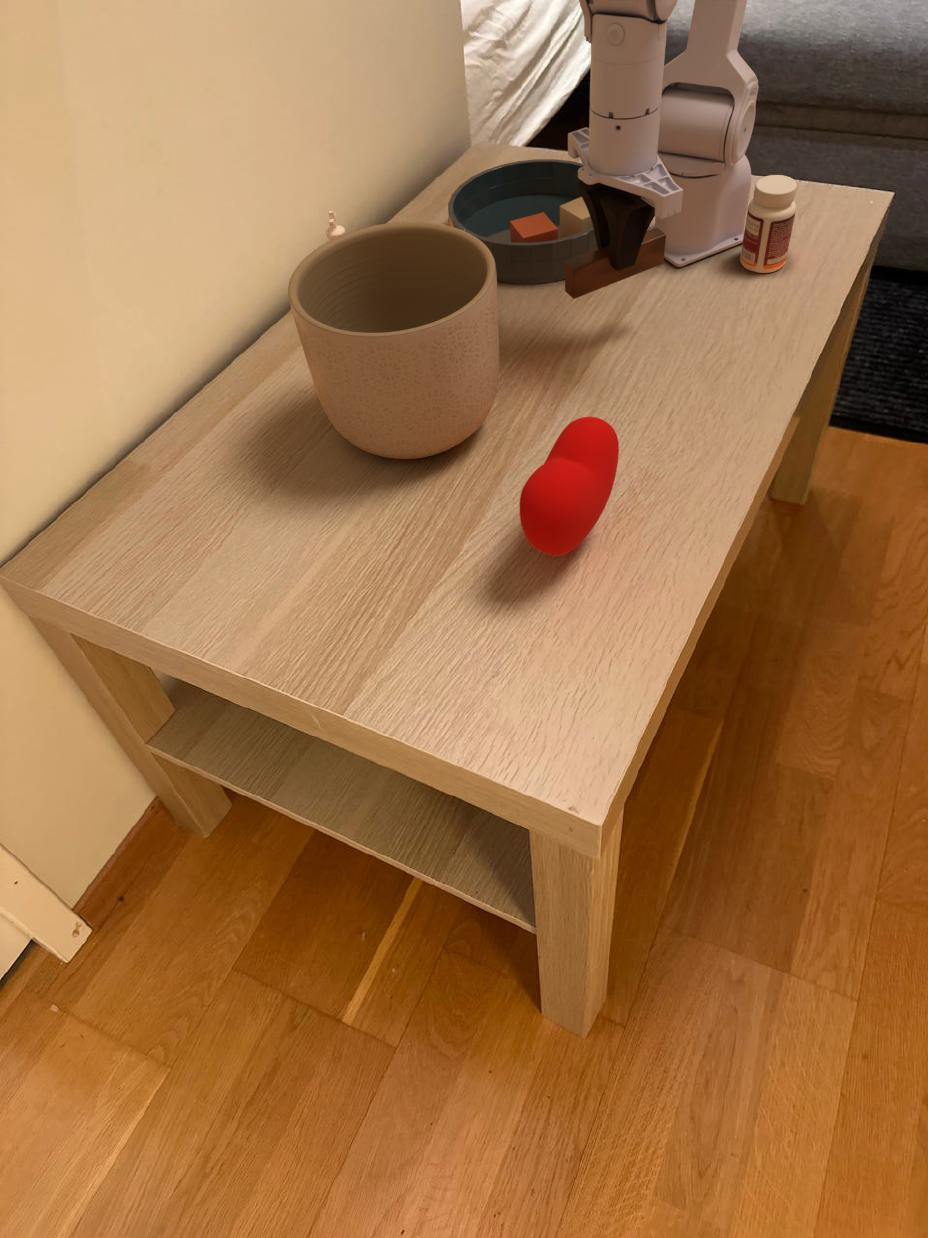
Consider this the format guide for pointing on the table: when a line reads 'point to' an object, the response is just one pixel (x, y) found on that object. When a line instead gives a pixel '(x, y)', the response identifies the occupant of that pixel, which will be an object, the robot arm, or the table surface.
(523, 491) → the heart
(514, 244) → the bowl
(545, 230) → the terracotta block
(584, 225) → the cream block
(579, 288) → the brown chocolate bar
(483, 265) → the planter
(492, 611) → the table surface
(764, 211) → the pill bottle
